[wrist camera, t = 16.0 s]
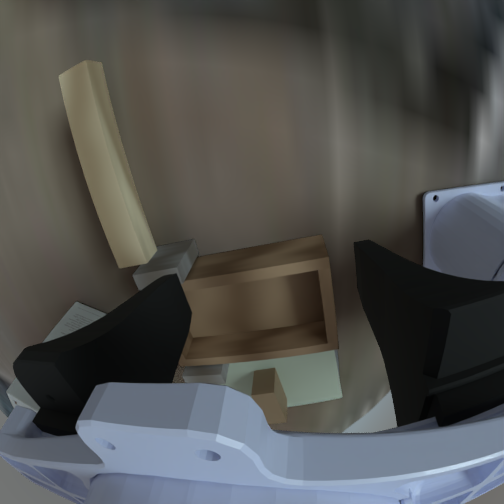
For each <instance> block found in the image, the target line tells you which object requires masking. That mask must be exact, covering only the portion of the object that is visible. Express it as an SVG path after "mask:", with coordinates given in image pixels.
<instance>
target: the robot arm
mask: <svg viewBox="0 0 504 504" xmlns="http://www.w3.org/2000/svg"><path fill="white" fill-rule="evenodd" d="M501 186H502V189H501ZM435 195H436V196H437V197H436V199H435V200H433V197H434V196H435ZM423 234H424V238H423V266H420V265H418V264H416V263H413V262H411V261H409V260H407V259H405V258H403V257H401V256H399V255H397V254H395V253H393V252H391V251H389V250H387V249H386V248H384V247H382V246H380V245H378V244H377V243H375V242H373V241H371V240H364V241H359V242H354V251H355V262H356V275H357V288H358V291H359V295H360V299H361V302H362V306H363V309H364V311H365V313H366V316H367V318H368V321H369V323H370V325H371V328H372V330H373V332H374V335H375V337H376V340H377V342H378V345H379V347H380V350H381V353H382V356H383V359H384V363H385V367H386V371H387V375H388V379H389V384H390V389H391V393H392V398H393V403H394V409H395V414H396V421H397V427H396V428H392V429H388V430H384V431H379V432H374V433H313V432H295V431H282V430H272V429H271V428H270V427H269V425H268V423H267V421H266V418H265V416H264V413H263V410H262V409H261V408H260V407H259V406H258V405H257V404H256V403H255V401H254V400H253V399H252V398H251V397H250V396H249V395H247V394H245V393H242V392H240V391H238V390H236V389H233V388H231V387H229V386H227V385H219V384H210V383H172V381H173V378H174V374H175V371H176V368H177V365H178V363H179V360H180V357H181V354H182V351H183V348H184V345H185V343H186V340H187V337H188V334H189V329H190V324H191V318H192V311H191V308H190V306H189V303H188V301H187V298H186V296H185V293H184V291H183V288H182V286H181V283H180V280H179V278H178V275H177V273H175V274H169V275H164V276H162V277H160V278H158V279H156V280H155V281H153V282H152V283H150V284H149V285H148V286H146V287H145V288H143V289H142V290H141V291H139V292H138V293H137V294H135V295H134V296H133V297H131V298H130V299H128V300H127V301H126V302H124V303H123V304H121V305H120V306H118V307H117V308H116V309H114V310H113V311H111V312H110V313H108V314H106V315H105V316H103V317H101V318H100V319H98V320H96V321H94V322H93V323H91V324H89V325H87V326H84V327H82V328H80V329H78V330H76V331H74V332H72V333H69V334H67V335H64V336H62V337H59V338H56V339H54V340H51V341H47V342H44V343H40V344H37V345H33V346H29V347H26V348H25V349H24V350H23V351H22V352H21V354H20V355H19V356H18V358H17V359H16V360H15V361H14V363H13V369H14V373H15V375H16V377H17V379H18V381H19V382H20V384H21V385H22V386H23V388H24V389H25V390H26V391H27V393H28V394H29V395H30V396H31V398H32V399H33V400H34V401H35V402H36V403H37V405H38V406H39V407H40V409H39V411H38V412H37V413H36V412H35V411H33V410H31V409H29V408H25V407H22V406H18V405H16V406H15V408H14V409H13V411H12V412H11V414H10V416H9V417H8V419H7V420H6V422H5V424H4V425H3V427H2V429H1V430H0V456H1V457H2V458H3V459H4V460H5V461H6V462H8V463H9V464H10V465H11V466H12V467H14V468H15V469H16V470H17V471H18V472H20V473H21V474H22V475H23V476H25V477H26V478H28V479H29V480H30V481H31V482H33V483H35V484H37V485H39V486H41V487H43V488H45V489H47V490H49V491H51V492H53V493H55V494H57V495H59V496H61V497H63V498H66V499H68V500H70V501H72V502H74V503H76V504H464V503H466V502H468V501H470V500H472V499H474V498H476V497H478V496H480V495H482V494H484V493H486V492H488V491H490V490H492V489H493V488H495V487H497V486H499V485H501V484H502V483H504V181H502V182H494V183H486V184H478V185H471V186H464V187H456V188H449V189H442V190H436V191H429V192H426V193H425V194H424V195H423Z"/></svg>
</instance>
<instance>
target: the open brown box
mask: <svg viewBox="0 0 504 504" xmlns="http://www.w3.org/2000/svg"><path fill="white" fill-rule="evenodd" d="M156 248H157V251H156V253H155V254H154V255H153V257H152V258H151V259H150V260H149V262H148V263H146V264H141V265H140V266H139V267H138V269H137V270H136V271H135V273H134V274H133V275H132V276H133V278H134V280H135V283H136V285H137V287H138V289H139V290H142V289H143V288H145V287H146V286H148V285H149V284H150V283H152V282H153V281H155V280H156V279H158V278H160V277H162V276H164V275H169V274H175V273H177V275H178V278H179V280H180V283H181V286H182V288H183V291H184V293H185V296H186V298H187V301H188V303H189V306H190V308H191V311H192V318H191V324H190V329H189V334H188V337H187V340H186V343H185V345H184V348H183V351H182V354H181V357H180V360H179V365H180V367H181V366H185V369H184V372H183V375H182V377H183V379H184V381H185V382H186V383H210V384H225V383H226V378H227V373H228V367H229V363H239V362H250V361H259V360H268V359H276V358H284V357H292V356H299V355H306V354H313V353H319V352H325V351H331V350H337V349H339V345H338V334H337V323H336V313H335V304H334V295H333V286H332V278H331V270H330V262H329V256H328V253H327V249H326V246H325V243H324V240H323V236H322V235H316V236H310V237H305V238H299V239H294V240H288V241H282V242H277V243H271V244H266V245H260V246H255V247H249V248H244V249H238V250H233V251H227V252H222V253H216V254H211V255H205V256H200V257H197V256H198V254H199V252H198V249H197V246H196V242H195V239H191V240H186V241H181V242H176V243H171V244H167V245H162V246H157V247H156Z"/></svg>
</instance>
